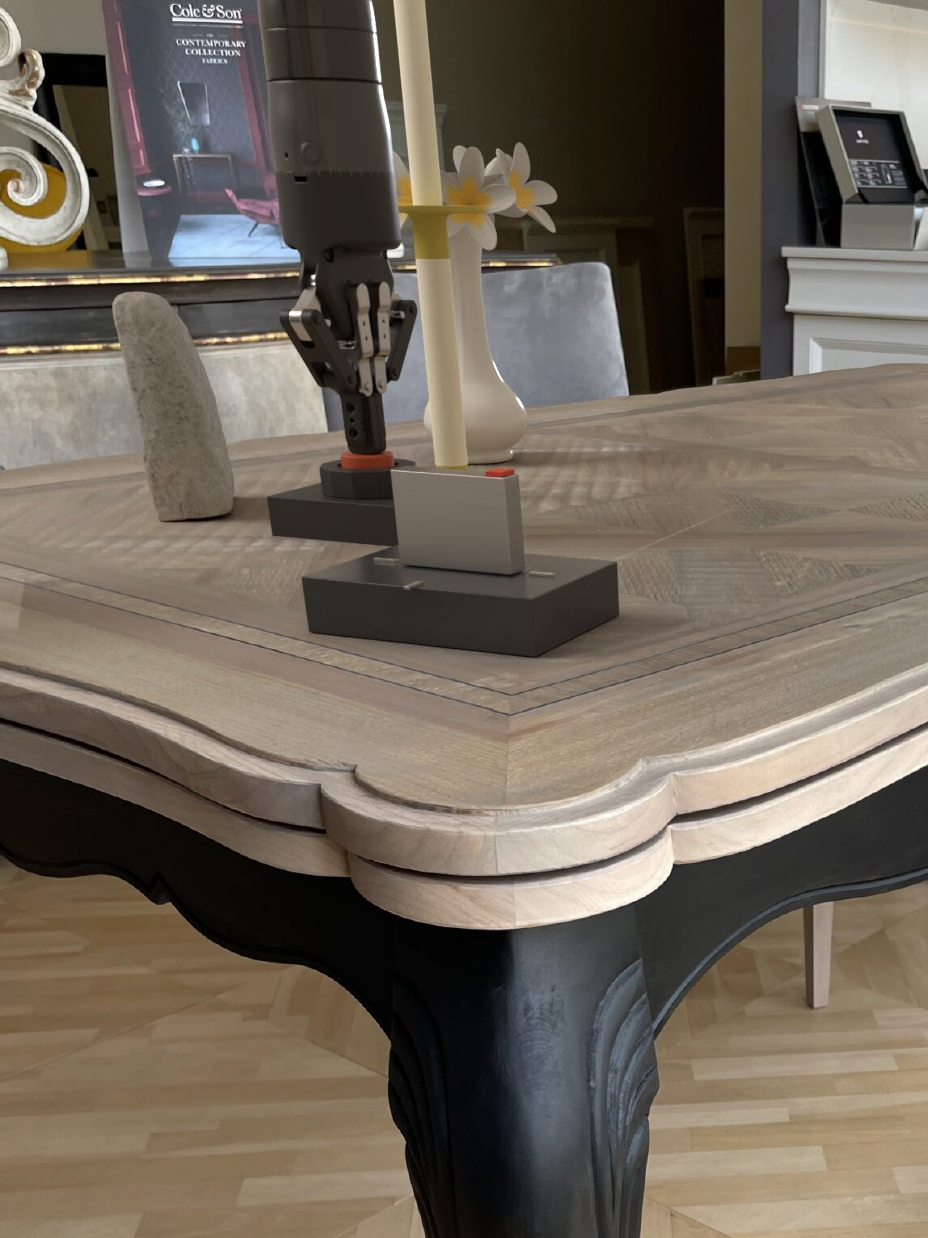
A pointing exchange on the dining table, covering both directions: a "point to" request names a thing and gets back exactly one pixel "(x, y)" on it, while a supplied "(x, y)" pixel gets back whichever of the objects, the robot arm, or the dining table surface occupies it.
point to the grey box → (459, 519)
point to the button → (367, 460)
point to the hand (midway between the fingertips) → (367, 452)
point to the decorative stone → (173, 411)
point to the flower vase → (485, 396)
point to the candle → (431, 237)
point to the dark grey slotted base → (463, 602)
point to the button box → (340, 507)
